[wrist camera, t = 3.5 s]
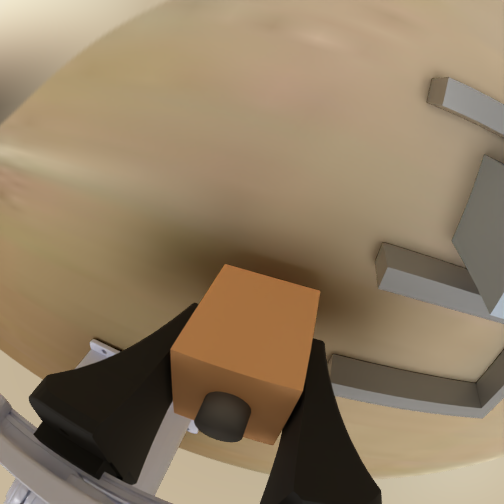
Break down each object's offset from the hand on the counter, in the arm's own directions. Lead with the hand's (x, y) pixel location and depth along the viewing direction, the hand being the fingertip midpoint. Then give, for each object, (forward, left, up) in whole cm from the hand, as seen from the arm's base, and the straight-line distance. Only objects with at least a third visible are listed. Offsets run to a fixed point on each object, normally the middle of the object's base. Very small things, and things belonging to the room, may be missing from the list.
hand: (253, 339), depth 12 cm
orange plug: (0, 0, -2) cm, 2 cm away
